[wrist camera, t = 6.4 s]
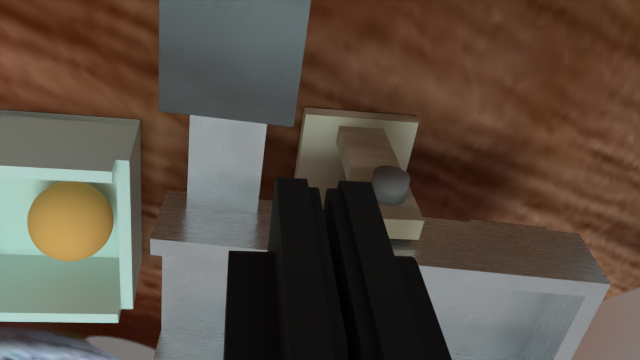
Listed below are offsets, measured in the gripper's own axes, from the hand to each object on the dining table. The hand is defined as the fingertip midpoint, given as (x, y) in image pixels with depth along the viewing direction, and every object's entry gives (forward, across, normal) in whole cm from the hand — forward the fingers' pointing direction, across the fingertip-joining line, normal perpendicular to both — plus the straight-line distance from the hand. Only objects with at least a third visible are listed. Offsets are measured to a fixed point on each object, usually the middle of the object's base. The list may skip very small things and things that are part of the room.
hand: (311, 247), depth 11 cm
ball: (+17, +9, +13) cm, 23 cm away
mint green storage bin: (+20, +11, +12) cm, 26 cm away
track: (+15, -6, +8) cm, 18 cm away
